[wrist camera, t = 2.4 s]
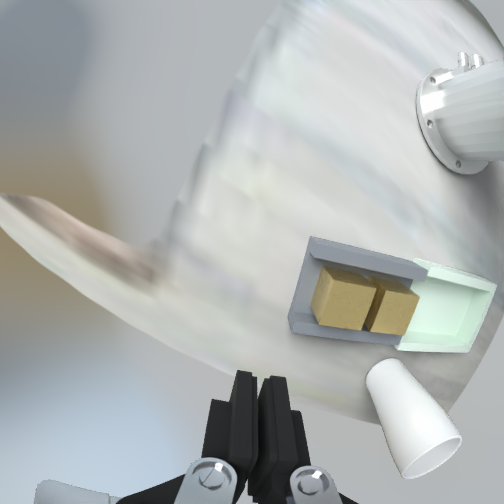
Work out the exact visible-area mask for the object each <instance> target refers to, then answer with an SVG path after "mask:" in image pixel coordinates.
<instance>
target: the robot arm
mask: <svg viewBox="0 0 504 504" xmlns="http://www.w3.org/2000/svg"><path fill="white" fill-rule="evenodd" d="M458 62H459V67H458V68H456V69H454V70H450V69H444V68H440V69H436V70H433V71H431V72H429V73H428V74H427V75H425V76H424V77H423V79H422V80H421V82H420V84H419V87H418V90H417V98H416V105H417V114H418V119H419V123H420V126H421V129H422V132H423V135H424V137H425V139H426V141H427V143H428V145H429V146H430V148H431V150H432V151H433V153H434V154H435V155H436V157H437V158H438V159H439V160H440V161H441V162H442V163H443V164H444V165H445V166H446V167H447V168H449V169H451V170H452V171H454V172H456V173H459V174H467V175H471V174H476V173H478V172H481V171H482V170H483V169H484V168H485V167H486V166H487V164H488V163H489V161H504V57H503V58H501V59H498V60H495V61H492V62H490V63H487V64H484V60H483V58H482V57H481V56H479V55H475V54H473V55H471V56H470V62H471V69H472V70H471V69H470V68H469V59H468V55H467V54H466V53H464V52H459V53H458ZM247 479H248V495H249V496H253V502H255V503H258V504H358V503H356V502H354V501H353V500H351V499H349V498H347V497H346V496H344V495H342V494H341V493H339V492H338V491H337V488H336V486H335V483H334V481H333V479H332V477H331V475H330V474H329V473H328V472H327V471H326V470H323V469H322V468H319V467H316V466H311V463H310V457H309V452H308V446H307V441H306V437H305V431H304V425H303V420H302V415H301V412H300V411H295V410H291V408H290V401H289V395H288V388H287V382H286V378H285V377H279V376H272V375H271V376H270V378H269V379H267V378H265V379H264V382H263V385H262V388H261V391H260V393H259V397H258V399H257V377H254V376H252V372H246V371H240V370H237V373H236V377H235V381H234V385H233V389H232V393H231V397H230V400H229V402H226V401H221V400H215V399H212V401H211V406H210V411H209V416H208V421H207V427H206V433H205V438H204V444H203V451H202V456H201V459H198V460H196V461H195V462H193V463H192V464H191V465H190V466H189V468H188V470H187V473H186V474H183V475H181V476H179V477H177V478H175V479H172V480H170V481H167V482H165V483H162V484H160V485H157V486H155V487H152V488H149V489H146V490H144V491H141V492H138V493H135V494H132V495H129V496H126V497H124V498H120V497H114V496H109V494H106V493H101V492H96V491H92V490H87V489H83V488H79V487H75V486H72V485H68V484H64V483H61V482H58V481H54V480H45V481H42V482H41V483H39V484H38V486H37V488H36V493H35V499H34V504H236V502H237V501H238V499H239V497H240V495H241V493H242V492H243V490H244V488H245V483H246V481H247Z"/></svg>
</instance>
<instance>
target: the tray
mask: <svg viewBox="0 0 504 504" xmlns="http://www.w3.org/2000/svg"><path fill="white" fill-rule="evenodd" d="M413 262H414V263H416V264H418V265H420V266H421V267H423V268H425V269H427V270H428V273H427V276H426V279H425V282H422V281H418V280H414V279H413V282H412V285H411V287H410V289H411V290H412V291H413V292H414V293H416V294H417V295H418V296H420V299H419V302H418V304H417V307H416V309H415V312H414V314H413V317H412V319H411V321H410V324H409V326H408V328H407V330H406V333H405V335H403V336H402V339H401V341H400V343H399V345H394V347H395V348H396V349H397V350H403V351H421V352H469V350H470V349H471V347H472V345H473V343H474V340H475V338H476V336H477V334H478V332H479V330H480V328H481V325H482V323H483V321H484V318H485V316H486V314H487V311H488V309H489V306H490V304H491V301H492V299H493V296H494V293H495V290H496V287H497V285H496V284H494V283H492V282H490V281H489V280H487V279H485V278H483V277H479V276H477V275H474V274H471V273H468V272H464V271H461V270H458V269H454V268H451V267H447V266H444V265H440V264H437V263H433V262H430V261H426V260H423V259H419V258H416V257H414V259H413Z"/></svg>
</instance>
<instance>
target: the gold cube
mask: <svg viewBox="0 0 504 504" xmlns="http://www.w3.org/2000/svg"><path fill="white" fill-rule="evenodd" d="M376 289H377V288H375V287H374V286H373V285H372V284H371V283H370V282H369V281H368V280H367V279H366V278H365V277H363V276H362V275H361V274H360V273H355V272H351V271H346V270H341V269H337V268H332V267H327V266H322V267H321V271H320V274H319V278H318V281H317V284H316V288H315V291H314V294H313V297H312V301H311V304H310V306H311V308H312V310H313V312H314V314H315V317H316V319H317V321H318V324H319V325H324V326H331V327H338V328H345V329H352V330H360V331H361V329H362V326H363V324H364V321H365V319H366V316H367V314H368V311H369V308H370V306H371V303H372V300H373V297H374V295H375V292H376Z"/></svg>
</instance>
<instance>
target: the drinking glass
mask: <svg viewBox="0 0 504 504" xmlns="http://www.w3.org/2000/svg"><path fill="white" fill-rule="evenodd" d="M366 386H367V389H368V391H369V393H370V395H371V397H372V400H373V403H374V405H375V408H376V411H377V414H378V417H379V420H380V423H381V426H382V429H383V432H384V435H385V438H386V441H387V444H388V447H389V450H390V453H391V455H392V457H393V460H394V462H395V464H396V466H397V468H398V470H399V472H400V474H401V476H402V478H404V479H412V478H416V477H419V476H422V475H424V474H426V473H428V472H430V471H432V470H434V469H435V468H437V467H438V466H440V465H441V464H442V463H444V462H445V461H446V460H447V459H449V458H450V457H451V456H452V455H453V454H454V453H455V452H456V450H457V449H458V448H459V446H460V444H461V442H462V436H461V435H460V433H459V432H458V430H457V428H456V426H455V425H454V423H453V422H452V420H451V419H450V417H449V416H448V415H447V413H446V412H445V411H444V410H443V408H442V407H441V406H440V405H439V404H438V403H437V402H436V400H435V399H434V398H433V397H432V396H431V395H430V394H429V393H428V392H427V391H426V390H425V389H424V387H423V386H422V385H421V384H420V383H419V382H418V381H417V380H416V379H415V378H414V377H413V375H412V374H411V373H410V372H409V371H408V370H407V369H406V367H405V366H404V365H403V363H402V362H401V361H400V360H398V359H395V358H389V359H385V360H382V361H380V362H378V363H377V364H376V365H374V366H373V367H372V368H371V370H370V371H369V373H368V374H367V377H366Z"/></svg>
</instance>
